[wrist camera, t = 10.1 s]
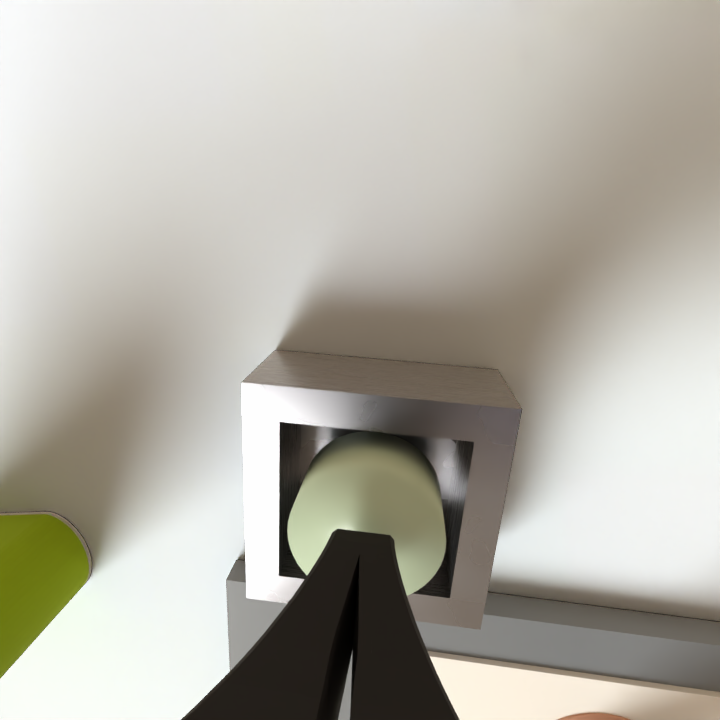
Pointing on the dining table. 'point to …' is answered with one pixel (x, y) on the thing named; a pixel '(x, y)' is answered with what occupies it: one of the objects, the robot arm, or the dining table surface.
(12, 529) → the vape
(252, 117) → the dining table surface
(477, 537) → the button housing
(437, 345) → the dining table surface
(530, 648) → the drawing board
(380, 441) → the button
